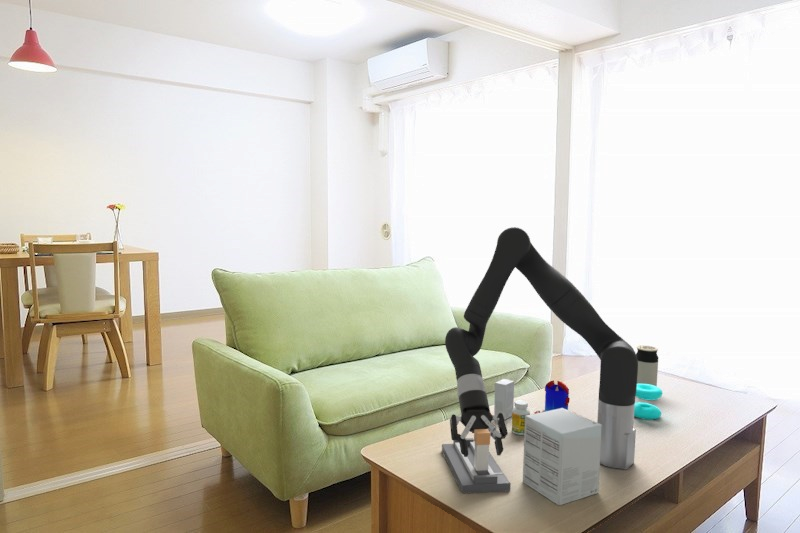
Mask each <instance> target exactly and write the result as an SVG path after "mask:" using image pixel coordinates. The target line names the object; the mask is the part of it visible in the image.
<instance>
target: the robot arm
mask: <svg viewBox="0 0 800 533" xmlns="http://www.w3.org/2000/svg"><path fill="white" fill-rule="evenodd" d="M515 269H517V271H519V272H520V274H522V275H523V276H524V277H525V279H526V280H527V281H528V282H529V283H530V285H531V287H532V288H533V289H534V291H535V292H536V293H537V295H538V296H539V297H540V299H541V300H542V301H543V303H544V304H546V306H547V307H548V308H549V309H550V310H551V312H552V313H553V314H554V315H555V316H556V317H557V318H558V319H559V320H560V321H561V322H562V323H564V325H566V326H567V327H568V328H570V329H571V330H572V331H573V332H575V333H576V334H578V335H579V336H580V337H582V338H583V339H584V340H585V342H587V344H588V345H589V347H590V348H591V349H592V350H593V351H594V353H595V354H596V355H597V357H598V358H599V359H600V372H599V386H598V399H597V400H598V404H597V420H596V421H597V423H599V424H601V425H602V426H601V447H600V464H601V465H603V466H606V467H608V468H612V469H622V470H628V469H629V468H630V467H631V466H632V465H634V464H635V454H636V452H635V450H636V436H637V434H636V432H637V430H636V429H635V428H634V423H635V421H634V420H635V416H634V408H635V403H636V390H637V376H638V359H637V356H636V353H637V352H636V351H635V350H634V348H633V347H632V346H631V344H630V343H628V342H627V341H626V340H625V339H623V337H622V336H620V335H619V334H617V333H616V331H614V330H613V329H612V328H611V327H610V326H609V325H608V324H607V323H606V322H605V321H604V320H603V318H602V317H601V316H600V314H599V313H598V312H597V310H596V309H595V308H594V307H593V306H592V304H591V303H590V302H589V301H588V300H587V298H586V297H585V296H584V295H583V293H582V292H581V291H580V290H579V289H578V288H577V287H576V286H575V285H574V284H573V283H572V282H571V281H570V280H569V279H568V278H567V277H566V276H565V275H564V274H562V273H561V272H560V271H559V270H558V269H556V268H555V267H554V266H553V265H551V264H550V263H548V262H547V261H546V260H545V259H544V258H543V256H542V255H541V254H540V252H538V250H537V249H536V248H535V246H534V245H533V244H532V242H531V239H530V236H529V234H528V233H527V232H526V231H525V229H522V228H520V227H517V226H515V227H513V226H512V227H509V228H506V229H504V230H503V231H502V232H500V234H499V235H498V237H497V241H496V246H495V250H494V254H493V256H492V259H491V261H490V264H489V266H488V268H487V270H486V272H485V274H484V276H483V278H482V279H481V281H480V284H479V285H478V286H477V287H476V290H475V292H474V293H473V295H472V297H471V299H470V301H469V303H468V305H467V307H466V308H465V311H464V313H463V318H464V320H465V321H466V322H467V323H468V324H469V329H468V330H466V329H463V328H461V327H458V326H457V327H456V326H455V327H452V328H450V329H449V330H448V331H447V332H446V335H445V340H444V346H445V349H446V352H447V354H448V356H449V359H450V361H451V363H452V366H453V368H454V372H455V379H456V388H457V389H456V390H457V391H456V392H457V397H458V402H459V408H460V415H459V416H457V415H456V414H453V413H452V414H451V417H450V419H449V427H450V436H451V437H450V438H451V440H452V441H455V440H456V441H458V442H459V443H460V449H461V453H462V455H464V457H467V456H468V448H467V441H466V440H465V438H467V435H468V434H469V432H470V433H471V434H474V429H488V431H489V432H490V438H492V439H493V440H494V448H495V451H496V452H495V453H496V455H497V457H498V456H499V457H500V456H502V453H503V452H504V446H503V440H504V439H506V438H507V435H508V433H509V432H508V429H507V425H506V420H504V417H503V414H502V413H499V414H498V415H494V414H492V412H491V410H490V404H489V400H488V395H487V389H486V385H485V381H484V379H483V374H482V370H481V365H480V364H481V363H480V361H479V360H478V359H477V358H476V357H474V356H476V355H477V354H478V353H479V352H480V350H481V348H482V346H483V342H484V337H485V333H486V329H487V325H488V322H489V320H490V318H491V317H492V314H493V313H494V311H495V309H496V306H497V304H498V302H499V300H500V297H501V296H502V292H503V290H504V288H505V286H506V284H507V282H508V281H509V278H510V277H511V274H512V273H513V271H514V270H515ZM493 421H494V422H495V424H497V427H498V430H499V431H498V430H497V427H496V426H495V425H494V424H493V423H492V422H493ZM459 423H461V424H462V425H463V426H464V429H463V431H462V432H461V434H460V433H458V425H459Z"/></svg>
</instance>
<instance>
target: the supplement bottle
mask: <svg viewBox="0 0 800 533" xmlns="http://www.w3.org/2000/svg"><path fill="white" fill-rule="evenodd" d="M528 403H529V402H528V401H526V400H519V399H518V400H515V401H514V407H513V410H512V416H511V432H512V433H513V434H515V435H519V436H524V434H525V416H526V415H531V412H530V409H529V408H528V407H529V404H528Z"/></svg>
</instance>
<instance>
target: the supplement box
mask: <svg viewBox="0 0 800 533" xmlns="http://www.w3.org/2000/svg"><path fill="white" fill-rule="evenodd" d="M540 412H541V413H536V414H534V413H532V414H531V413H530V415H526V416H525V434H524V435H523V436H524V439H523V440H524V441H523V462H522V464H523V465H522V483H524V485H527V487H530V488H532V489H533V490H534V491H536V492H537V493H539V494H541V495H542V496H544V497H545V498H546V499H548V500H550V501H551V502H553V503H554V504H556V505H557V506H562V505H565V504H568V503H571V502H574V501H577V500H580V499H584V498H586V497H591V496H593V495H596V494H598V493H599V490H600V489H599V485H600V464H601V463H600V447H601V426H602V425H601V424H599V423H597V422H596V421H595V420H592V419H590V418H588V417H585V416H583V415H581V414H578V413H576V412H574V411H571V410H569V409H568V410H567V409H564V408H560V409H555V410H550V411H546V412H542V411H540Z"/></svg>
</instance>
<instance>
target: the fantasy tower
mask: <svg viewBox="0 0 800 533" xmlns="http://www.w3.org/2000/svg"><path fill="white" fill-rule="evenodd" d="M544 391H545V396H544V398H545V399H544V410H542V411H540V410H536V411H534V412H533V414H536V413H541V412H546V411H550V410H555V409H560V408H564V409H567V410H569V403H570V395H569V394H570V389H569V388H568V386H567V385H566V384H565V383H564V382H562V381H559V380H557V383H556V384H555V381H554V380H550V381H549V382H547V383H546V384H545V387H544Z"/></svg>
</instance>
